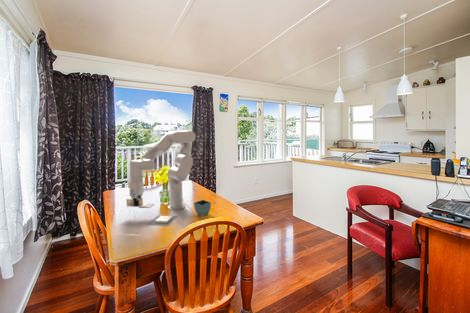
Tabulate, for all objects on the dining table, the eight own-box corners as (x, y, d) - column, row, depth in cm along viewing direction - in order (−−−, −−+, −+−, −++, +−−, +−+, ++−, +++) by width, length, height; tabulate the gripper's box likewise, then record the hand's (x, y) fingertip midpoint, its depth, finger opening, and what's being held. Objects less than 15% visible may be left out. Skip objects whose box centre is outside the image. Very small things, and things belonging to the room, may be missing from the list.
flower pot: (201, 218, 152) (201, 205, 151) (193, 214, 158) (193, 202, 157) (211, 214, 158) (211, 202, 157) (203, 211, 164) (203, 199, 163)
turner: (124, 207, 150) (124, 200, 149) (131, 204, 157) (130, 197, 156) (148, 208, 148) (148, 200, 147) (154, 204, 154) (153, 197, 154)
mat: (158, 216, 156) (158, 215, 156) (177, 216, 154) (177, 216, 154) (146, 225, 140) (146, 224, 140) (167, 226, 138) (167, 226, 138)
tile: (160, 215, 151) (172, 216, 150) (160, 217, 151) (172, 218, 150) (155, 220, 143) (167, 221, 142) (155, 222, 144) (167, 223, 143)
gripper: (138, 176, 159) (139, 201, 161) (124, 181, 143) (125, 209, 145) (148, 176, 158) (149, 201, 160) (135, 181, 142) (136, 209, 144)
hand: (137, 205), depth 152 cm, fingers closed on turner, 2 cm apart
